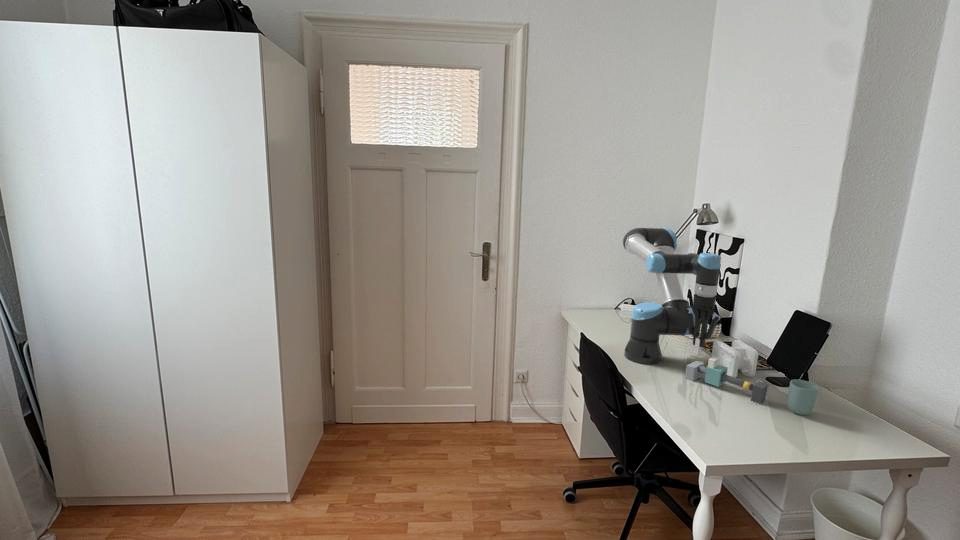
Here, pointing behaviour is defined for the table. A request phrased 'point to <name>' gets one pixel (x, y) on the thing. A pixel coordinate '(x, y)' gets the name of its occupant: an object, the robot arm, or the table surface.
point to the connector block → (759, 392)
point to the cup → (802, 396)
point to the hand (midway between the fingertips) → (697, 353)
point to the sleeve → (715, 372)
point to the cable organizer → (736, 357)
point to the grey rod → (730, 379)
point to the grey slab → (693, 370)
